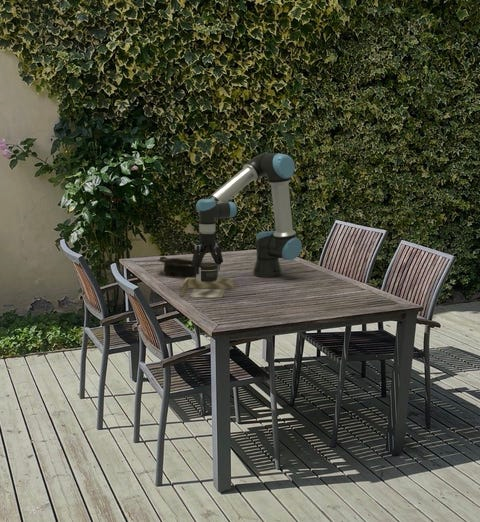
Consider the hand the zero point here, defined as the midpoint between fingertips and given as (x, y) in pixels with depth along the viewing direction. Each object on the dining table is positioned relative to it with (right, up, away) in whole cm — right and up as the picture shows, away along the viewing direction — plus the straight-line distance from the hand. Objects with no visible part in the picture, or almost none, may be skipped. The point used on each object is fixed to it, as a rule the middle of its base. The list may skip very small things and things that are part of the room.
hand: (207, 279), depth 350 cm
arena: (0, -6, +3) cm, 7 cm away
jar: (0, 0, 0) cm, 0 cm away
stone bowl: (-15, +2, +45) cm, 48 cm away
